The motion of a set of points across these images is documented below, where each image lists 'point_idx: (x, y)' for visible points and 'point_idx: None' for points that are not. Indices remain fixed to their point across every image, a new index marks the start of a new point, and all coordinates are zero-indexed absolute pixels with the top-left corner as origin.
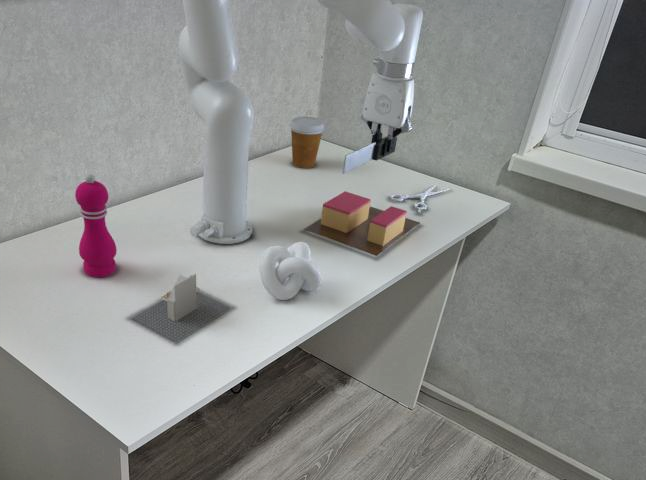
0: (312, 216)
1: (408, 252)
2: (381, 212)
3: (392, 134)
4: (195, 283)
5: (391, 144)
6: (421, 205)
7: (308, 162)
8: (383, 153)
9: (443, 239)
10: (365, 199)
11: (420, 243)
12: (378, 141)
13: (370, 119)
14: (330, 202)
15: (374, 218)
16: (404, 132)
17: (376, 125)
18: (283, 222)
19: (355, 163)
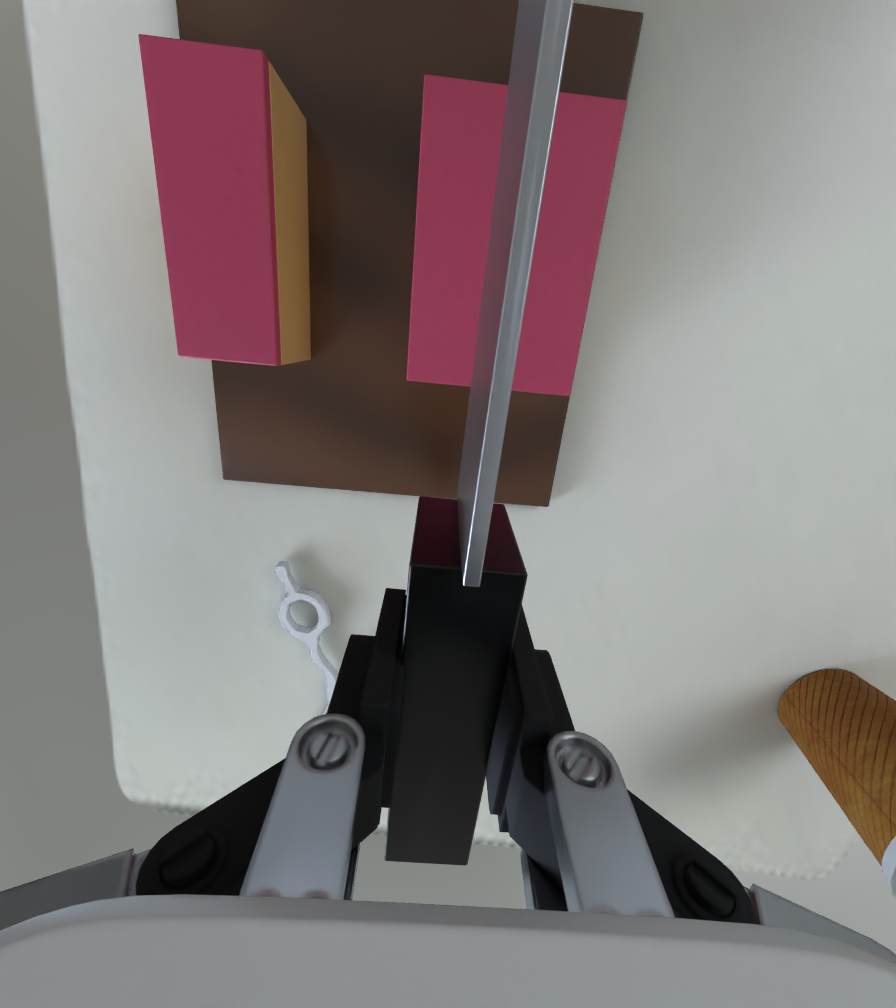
0: (651, 263)
1: (117, 177)
2: (394, 472)
3: (279, 781)
4: None
5: (335, 698)
6: (307, 628)
7: (814, 697)
8: (395, 596)
9: (92, 415)
10: (429, 357)
11: (134, 313)
12: (479, 685)
13: (766, 965)
14: (591, 164)
15: (255, 98)
16: (77, 871)
17: (579, 875)
18: (768, 82)
19: (518, 41)
